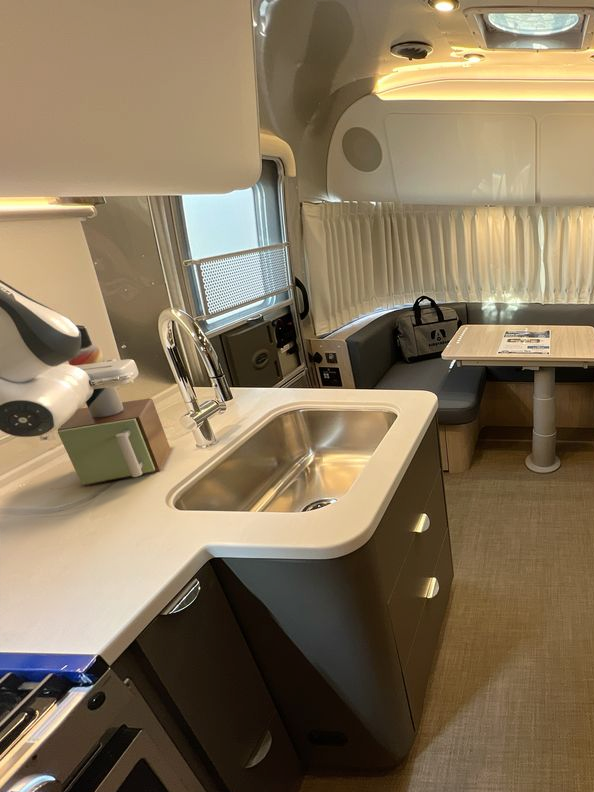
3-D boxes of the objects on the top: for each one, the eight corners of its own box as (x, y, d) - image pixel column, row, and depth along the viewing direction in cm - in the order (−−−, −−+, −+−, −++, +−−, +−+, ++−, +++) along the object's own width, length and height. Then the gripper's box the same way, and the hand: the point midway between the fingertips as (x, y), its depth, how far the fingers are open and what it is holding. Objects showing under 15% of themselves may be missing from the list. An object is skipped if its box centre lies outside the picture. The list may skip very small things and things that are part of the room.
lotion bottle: (91, 412, 109) (54, 325, 101) (123, 405, 112) (89, 321, 104) (92, 420, 105) (53, 330, 97) (125, 412, 108) (90, 325, 100)
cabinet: (83, 486, 107) (57, 429, 101) (101, 461, 117) (77, 408, 111) (159, 471, 112) (139, 416, 106) (170, 448, 122) (151, 397, 116)
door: (74, 495, 101) (48, 441, 96) (83, 482, 106) (59, 430, 101) (149, 480, 107) (128, 427, 101) (155, 469, 111) (135, 418, 106)
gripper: (122, 364, 94) (140, 345, 106) (-20, 381, 86) (16, 359, 98) (133, 393, 97) (149, 372, 108) (-3, 413, 89) (30, 388, 100)
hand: (85, 366), depth 103 cm, fingers open, 8 cm apart
